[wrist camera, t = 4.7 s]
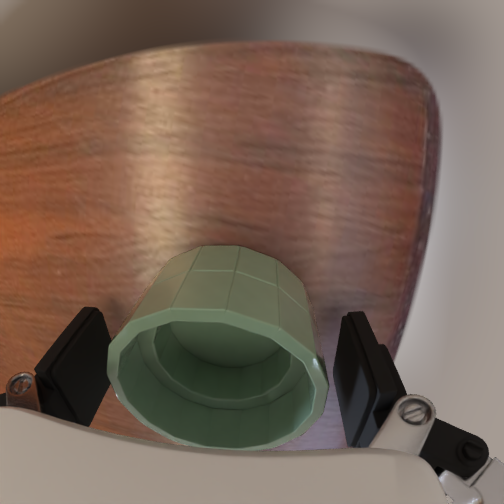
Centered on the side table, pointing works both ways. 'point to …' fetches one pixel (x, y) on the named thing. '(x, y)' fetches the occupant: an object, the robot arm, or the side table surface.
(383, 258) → the side table surface
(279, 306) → the bowl
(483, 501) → the robot arm
